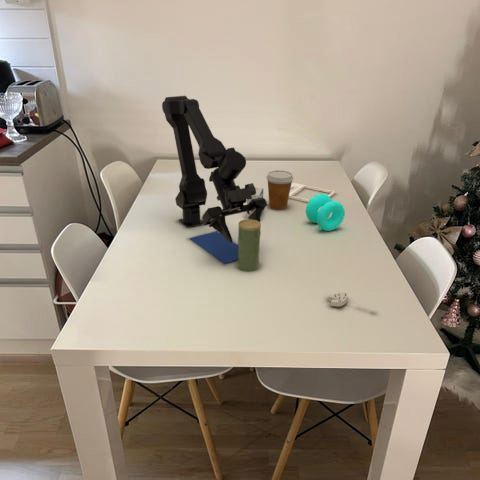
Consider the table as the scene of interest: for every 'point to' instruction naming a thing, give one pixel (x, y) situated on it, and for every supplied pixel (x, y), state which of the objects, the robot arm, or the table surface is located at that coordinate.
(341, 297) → the game controller
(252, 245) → the tea tin
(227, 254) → the blue mat
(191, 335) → the table surface
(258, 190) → the medicine box
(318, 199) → the donuts
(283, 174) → the disposable coffee cup
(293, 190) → the photo frame
